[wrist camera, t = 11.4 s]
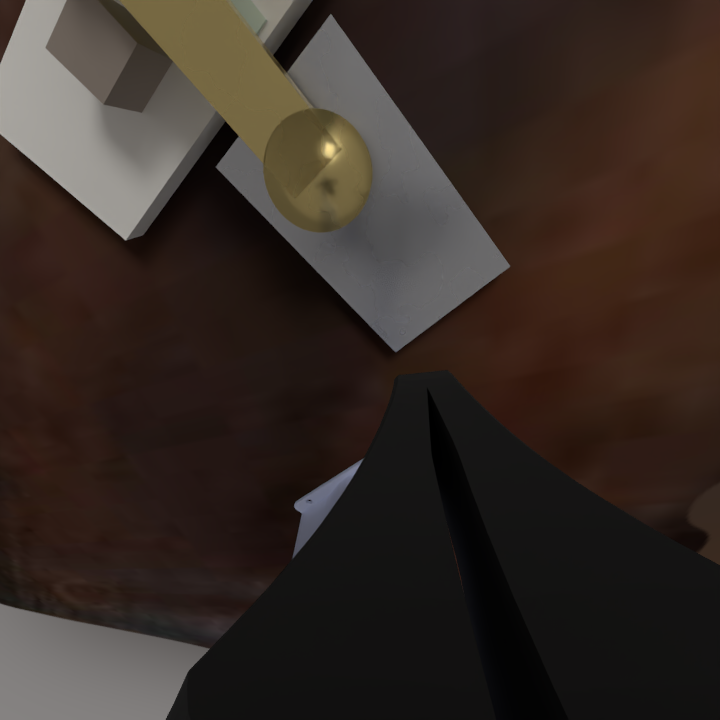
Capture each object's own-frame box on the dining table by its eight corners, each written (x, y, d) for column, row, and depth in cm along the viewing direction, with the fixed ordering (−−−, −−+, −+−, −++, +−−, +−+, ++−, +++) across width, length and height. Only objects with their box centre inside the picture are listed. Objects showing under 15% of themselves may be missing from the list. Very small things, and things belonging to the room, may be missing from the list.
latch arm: (111, -199, 9) (-2, -353, 7) (391, 177, 13) (395, 181, 11) (54, -65, 11) (-62, -147, 8) (326, 241, 15) (314, 259, 12)
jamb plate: (394, 344, 20) (396, 362, 18) (224, 166, 16) (204, 167, 14) (503, 260, 17) (518, 272, 15) (333, 23, 13) (326, 1, 11)
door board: (143, 235, 17) (91, 251, 14) (11, 119, 15) (-84, 108, 12) (387, -103, 12) (390, -203, 8) (230, -371, 9) (156, -640, 6)
